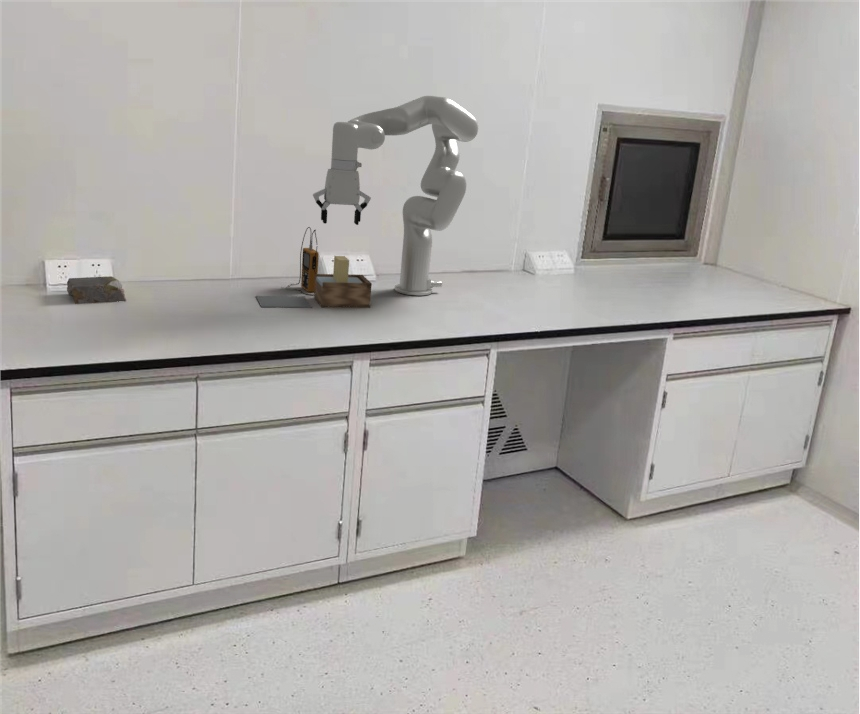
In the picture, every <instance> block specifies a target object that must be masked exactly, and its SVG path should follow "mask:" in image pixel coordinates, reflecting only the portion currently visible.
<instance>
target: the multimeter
mask: <svg viewBox="0 0 860 714" xmlns="http://www.w3.org/2000/svg"><path fill="white" fill-rule="evenodd" d="M308 229H309V231H312V228H311V227H310V226H308V227H307V228H306V229H305V232H304V234H303V238H302V241H301V242H302V243H301V247H300V254H299V255H300V256H299V264H300V265H299V280H298V283H297V285H299V284H300V286H301V288H303V289H304V290H305V291H307V292H308V293H305V292H302V290H301V289H295V288H292V287H291V286H293V285H292V284H293V283H290V284H288V285H287V286H286V287H282V286H281V287H280V288H281V289H285V290H289V291H290V290H291V291H299V292H300V293H301V294H303V295H307V296H311V293H315V274H319V273H318V271H319V269H318V268H319V253H320V252H319V251H318V247H316V249H313V239H312V237H313V235H314V236H315V237H314V238H315V240H316V241H315V243H316V244H318V239H317V238H318V237H317V233H316V231H317V229H314V230H313V231H312V232H311V236H310V238H309V239H310V240H309V245H308V246H309V247H303V245H304V242H305V241H304V240H305V237H306V234H307V231H308ZM300 282H301V283H300ZM309 293H310V294H309Z"/></svg>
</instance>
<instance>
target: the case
mask: <svg viewBox="0 0 860 714" xmlns="http://www.w3.org/2000/svg"><path fill="white" fill-rule="evenodd" d="M316 277H333V273H331V274H328V273H318V274H315V292H313V293H314V294H313V295H314V297H313V298H314V300H315V301H316V302H317V304H318V305H319V306H320V307H321V308H350V309H351V308H359V309H360V308H363V309H364V308H371V295H372V285H373V284H372V282H371V281H370V280H369V279H367V277H366V276H364V275H363V274H348V277H357V278H358V279H360V280H361V281H362V282H363V283H338V282H323V285H322V286H321V285H320V284H319V282H318V281H317V280H316Z"/></svg>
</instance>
